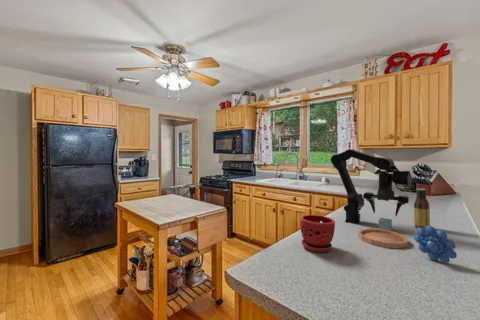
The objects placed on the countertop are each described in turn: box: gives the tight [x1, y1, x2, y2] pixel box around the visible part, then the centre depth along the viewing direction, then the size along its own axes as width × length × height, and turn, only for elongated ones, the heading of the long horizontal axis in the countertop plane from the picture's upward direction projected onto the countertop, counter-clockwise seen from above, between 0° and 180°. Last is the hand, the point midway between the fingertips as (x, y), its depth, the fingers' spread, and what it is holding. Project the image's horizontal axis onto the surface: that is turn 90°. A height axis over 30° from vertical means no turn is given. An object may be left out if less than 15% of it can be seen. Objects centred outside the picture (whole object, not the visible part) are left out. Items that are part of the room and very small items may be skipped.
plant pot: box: [300, 214, 336, 253], centre depth 91 cm, size 13×13×12 cm
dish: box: [357, 228, 409, 249], centre depth 99 cm, size 18×18×2 cm
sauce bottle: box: [413, 188, 431, 229], centre depth 115 cm, size 7×6×20 cm
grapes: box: [414, 225, 458, 264], centre depth 79 cm, size 12×7×12 cm, turn 37°
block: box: [377, 217, 393, 231], centre depth 113 cm, size 5×5×5 cm
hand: (384, 214), depth 113 cm, fingers open, 9 cm apart
